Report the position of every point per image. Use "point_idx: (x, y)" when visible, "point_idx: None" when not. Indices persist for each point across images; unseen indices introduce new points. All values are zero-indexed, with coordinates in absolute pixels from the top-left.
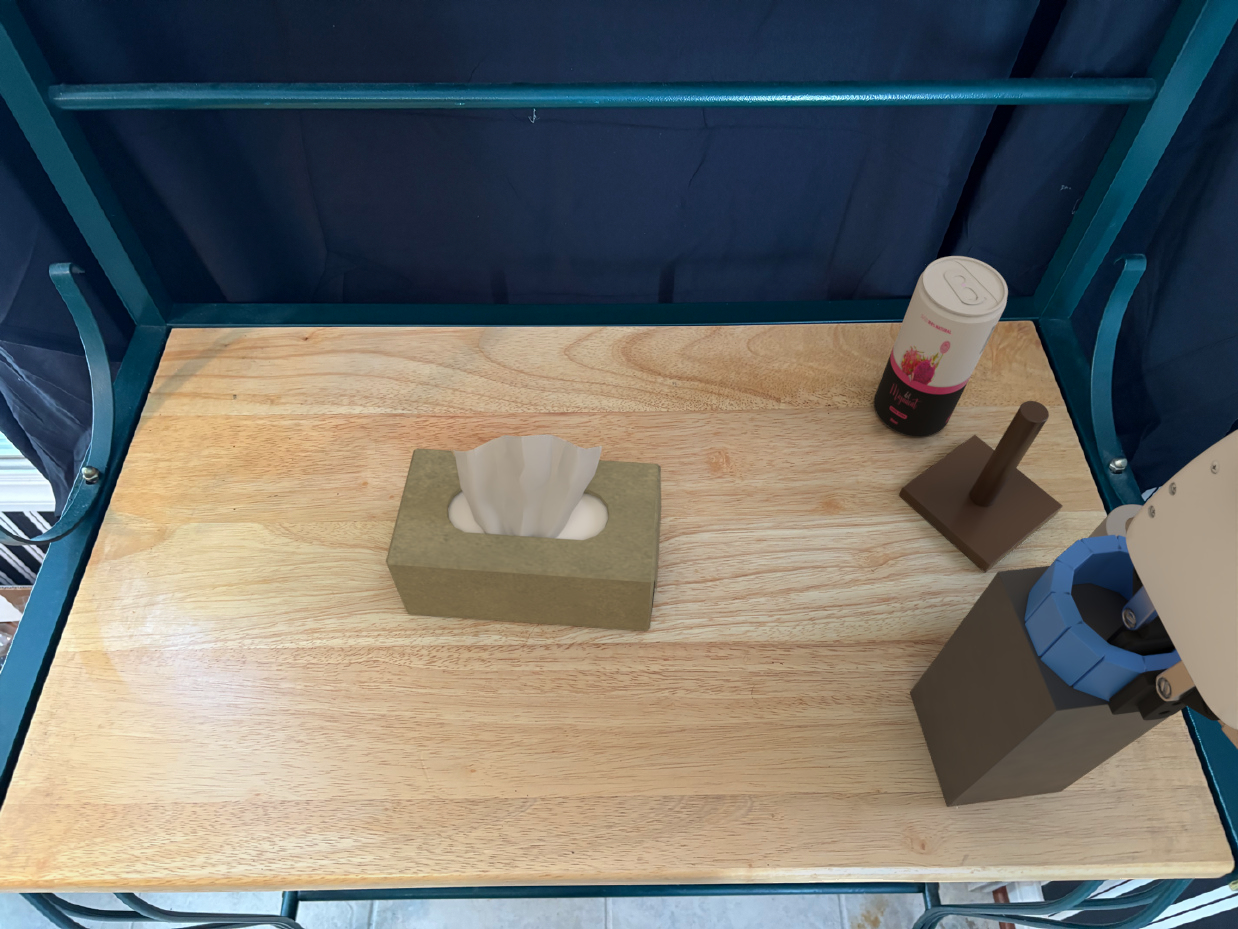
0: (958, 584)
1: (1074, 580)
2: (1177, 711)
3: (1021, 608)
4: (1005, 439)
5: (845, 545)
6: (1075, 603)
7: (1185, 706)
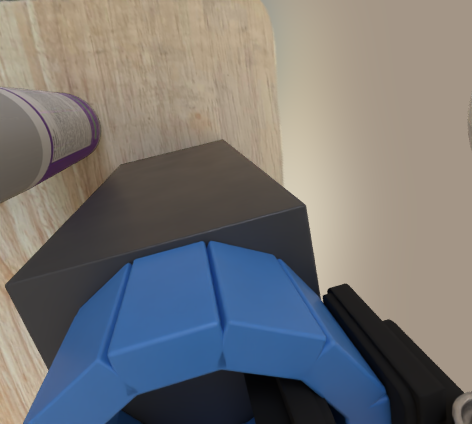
0: (22, 210)
1: (112, 418)
2: (402, 332)
3: None
4: None
5: (7, 311)
6: (152, 392)
7: (418, 347)
